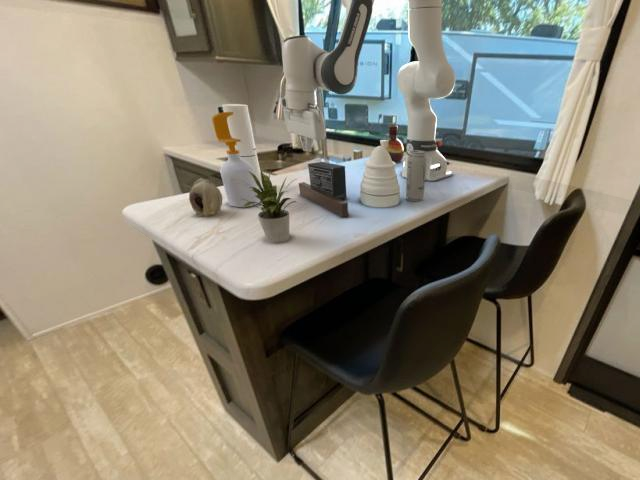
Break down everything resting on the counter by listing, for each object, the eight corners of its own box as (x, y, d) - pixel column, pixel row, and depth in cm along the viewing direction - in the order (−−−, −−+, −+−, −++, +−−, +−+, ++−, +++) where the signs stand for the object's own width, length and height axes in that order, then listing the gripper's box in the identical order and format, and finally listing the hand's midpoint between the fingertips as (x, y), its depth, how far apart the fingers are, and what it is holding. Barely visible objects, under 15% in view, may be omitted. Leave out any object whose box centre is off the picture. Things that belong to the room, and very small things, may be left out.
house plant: (229, 240, 78) (209, 168, 69) (275, 223, 88) (263, 158, 78) (269, 255, 72) (253, 180, 63) (314, 235, 82) (306, 167, 73)
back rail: (305, 194, 110) (304, 182, 108) (348, 216, 94) (347, 202, 92) (300, 195, 109) (298, 183, 107) (342, 217, 93) (341, 203, 91)
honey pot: (377, 192, 114) (376, 136, 104) (407, 200, 109) (410, 141, 98) (352, 201, 106) (349, 140, 95) (383, 210, 100) (384, 146, 90)
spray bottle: (241, 209, 95) (218, 114, 81) (222, 203, 99) (197, 111, 85) (266, 202, 102) (249, 112, 88) (247, 196, 105) (228, 109, 91)
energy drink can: (422, 202, 107) (425, 153, 99) (404, 200, 108) (406, 152, 100) (424, 197, 112) (428, 150, 104) (407, 195, 113) (409, 149, 105)
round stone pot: (201, 218, 95) (185, 183, 91) (231, 211, 96) (217, 176, 93) (192, 220, 86) (175, 181, 83) (226, 212, 88) (210, 173, 84)
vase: (405, 159, 163) (407, 125, 155) (401, 164, 154) (402, 127, 146) (384, 157, 165) (384, 123, 156) (378, 162, 156) (378, 126, 147)
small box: (348, 198, 108) (346, 165, 102) (334, 203, 103) (332, 168, 97) (324, 192, 112) (321, 160, 106) (310, 197, 108) (306, 163, 102)
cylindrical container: (266, 185, 117) (251, 104, 103) (257, 191, 111) (240, 106, 97) (247, 184, 117) (229, 103, 103) (237, 189, 111) (217, 105, 97)
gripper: (329, 105, 95) (332, 155, 103) (296, 100, 108) (301, 145, 115) (309, 105, 92) (314, 157, 99) (278, 100, 104) (284, 146, 112)
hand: (307, 151), depth 107 cm, fingers closed
